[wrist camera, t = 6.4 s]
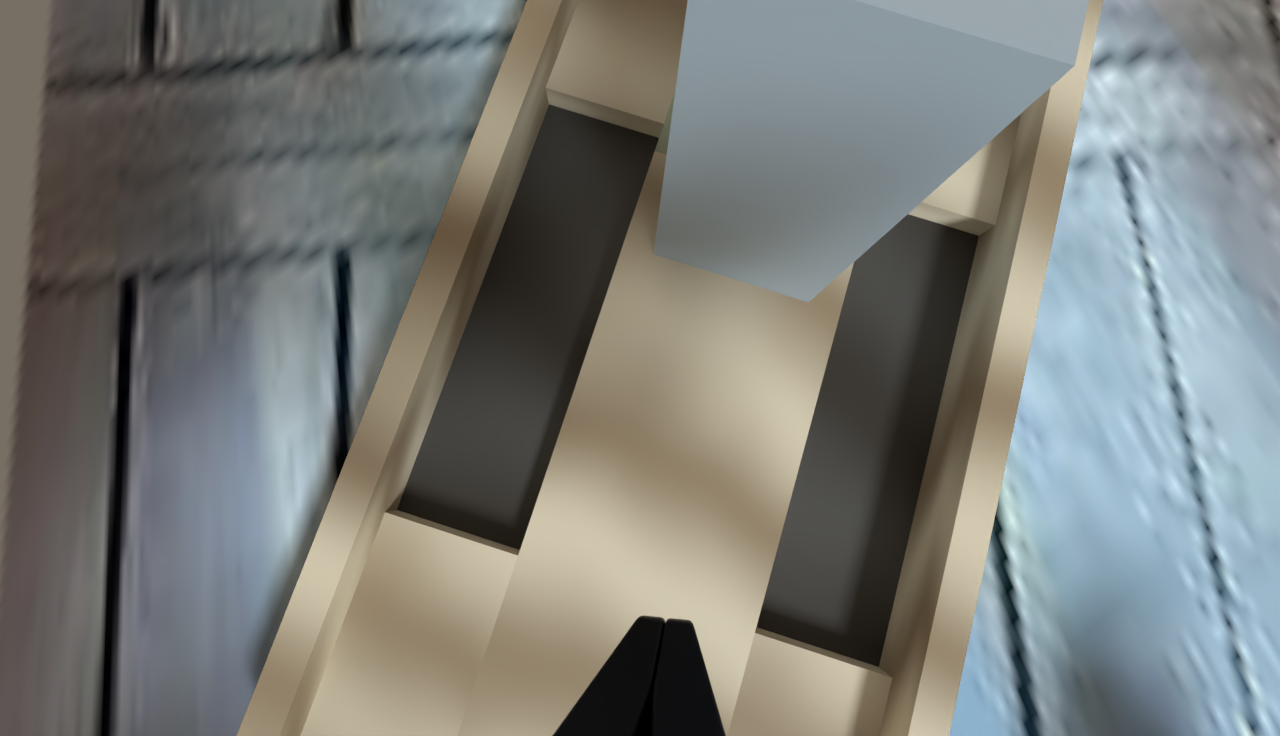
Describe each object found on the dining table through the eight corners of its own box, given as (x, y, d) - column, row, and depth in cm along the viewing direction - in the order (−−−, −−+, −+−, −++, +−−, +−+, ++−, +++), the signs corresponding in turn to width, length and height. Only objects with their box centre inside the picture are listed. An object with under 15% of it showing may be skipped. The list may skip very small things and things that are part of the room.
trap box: (852, 936, 16) (890, 1014, 14) (274, 740, 17) (216, 786, 15) (1057, 17, 21) (1111, -39, 19) (603, -117, 22) (601, -188, 19)
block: (808, 302, 18) (1075, 65, 8) (653, 254, 18) (694, -48, 8) (884, 26, 20) (1194, -497, 9) (741, -17, 20) (879, -584, 9)
